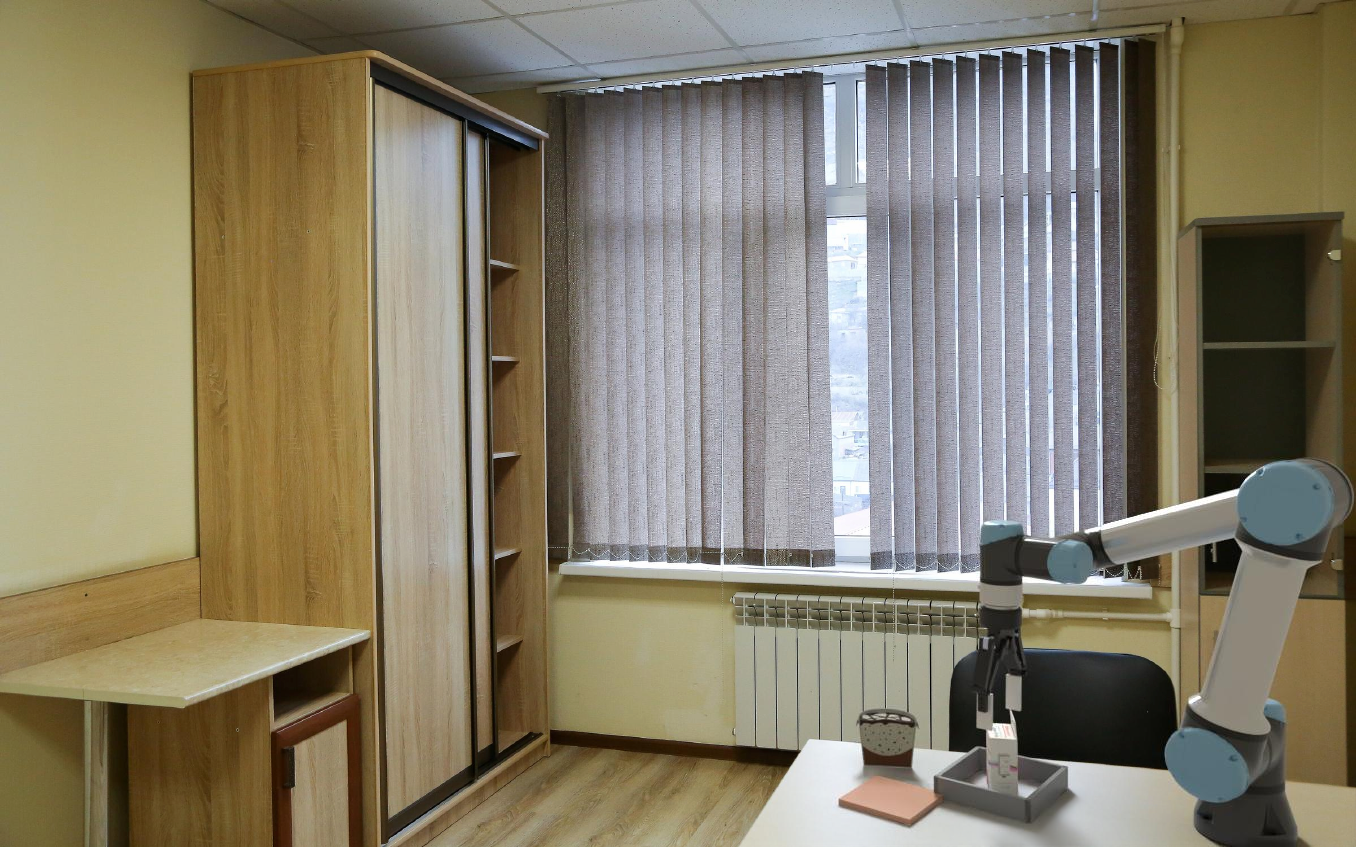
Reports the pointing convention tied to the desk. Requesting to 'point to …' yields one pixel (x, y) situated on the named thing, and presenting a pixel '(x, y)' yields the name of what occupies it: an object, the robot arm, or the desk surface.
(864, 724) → the food container
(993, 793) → the parts bin
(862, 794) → the terracotta tile
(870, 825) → the desk surface
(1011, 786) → the ink cartridge box
